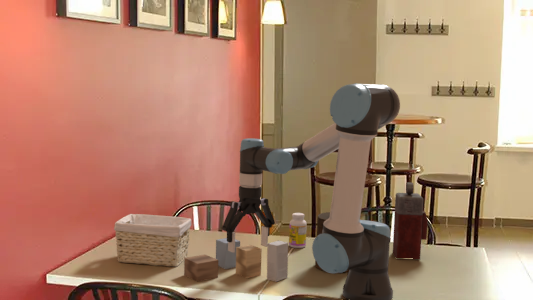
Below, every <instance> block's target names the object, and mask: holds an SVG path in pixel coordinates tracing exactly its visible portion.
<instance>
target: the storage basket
mask: <svg viewBox="0 0 533 300" xmlns="http://www.w3.org/2000/svg"><path fill="white" fill-rule="evenodd" d="M191 226H192V219H191V218H190V217H189V218H187V217H180V216H169V215H167V216H166V215H156V214H154V215H153V214H143V213H141V214H140V213H139V214H138V213H135V214H134V213H129V214H127V215H125V216H124V217H122V218H120V219H117V221H115V223H114V227H113V231H115V238H116V240H115V241H116V253H117V261H118V263H125V264H126V263H128V264H129V263H130V264H138V265H139V264H142V265H143V264H144V265H150V266H155V267H158V266H165V267H178V266H179V265H181V263H182V262H184V258H187V257H188V251H189V245H190V244H189V241H190V229H191Z"/></svg>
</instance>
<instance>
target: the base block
mask: <svg viewBox="0 0 533 300" xmlns="http://www.w3.org/2000/svg"><path fill="white" fill-rule="evenodd" d="M183 263H184V264H183V265H184V266H183V268H184V271H183V276H185V277H187V278H189V279H191V280H193V281H195V282H201V281H202V282H203V281H206V280H207V281H208V280H211V279H217V278H218V277H219V266H218V260H217V259H216V257H215V258H214V257H212V256H210V255H207V254H198V255H194V256H187V257H186V258H184V260H183Z"/></svg>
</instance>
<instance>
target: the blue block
mask: <svg viewBox="0 0 533 300" xmlns="http://www.w3.org/2000/svg"><path fill="white" fill-rule="evenodd" d="M236 247H241V240H239V239H236V238H235V252H230V251H228V242H227V237H225V238H218V239H215V259H217V260H218V268H222V269H224V270H229V269H233V268H236Z"/></svg>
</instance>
